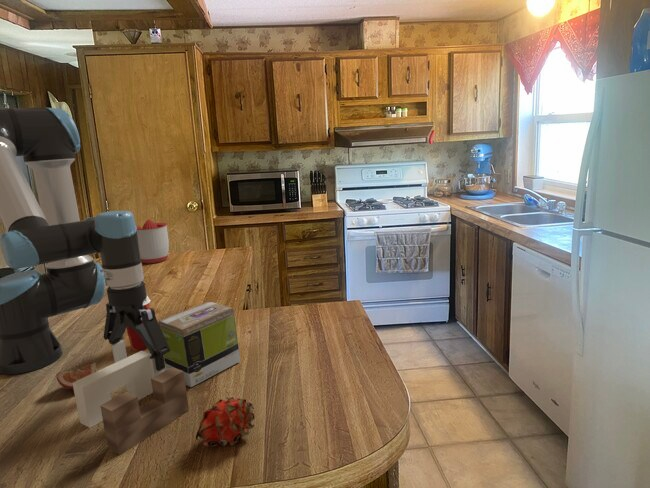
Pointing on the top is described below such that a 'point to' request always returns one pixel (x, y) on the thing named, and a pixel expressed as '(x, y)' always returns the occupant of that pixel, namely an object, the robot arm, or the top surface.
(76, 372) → the fruit slice
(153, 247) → the citrus juicer
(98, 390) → the cream slotted plate
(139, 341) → the paper cup
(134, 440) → the walnut slotted plate
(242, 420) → the dragon fruit
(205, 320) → the tea box
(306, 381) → the top surface
